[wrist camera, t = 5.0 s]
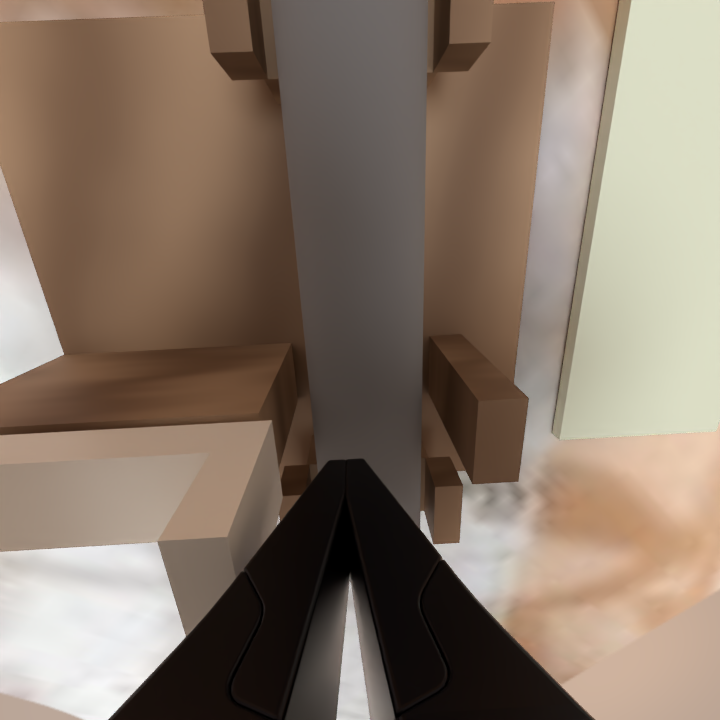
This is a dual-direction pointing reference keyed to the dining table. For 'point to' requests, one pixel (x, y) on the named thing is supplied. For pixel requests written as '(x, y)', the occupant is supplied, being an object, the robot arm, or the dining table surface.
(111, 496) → the beige wooden bar
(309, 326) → the grey rod
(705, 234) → the mat
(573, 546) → the dining table surface
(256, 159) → the cradle
